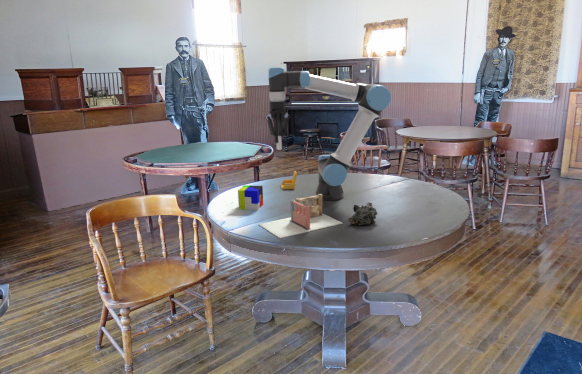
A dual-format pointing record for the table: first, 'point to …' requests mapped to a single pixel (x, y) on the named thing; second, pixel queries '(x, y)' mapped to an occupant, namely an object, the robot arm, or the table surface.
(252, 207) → the puzzle toy
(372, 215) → the mineral specimen
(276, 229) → the card
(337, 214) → the table surface
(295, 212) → the hinged fence half
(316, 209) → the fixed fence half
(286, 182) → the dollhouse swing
